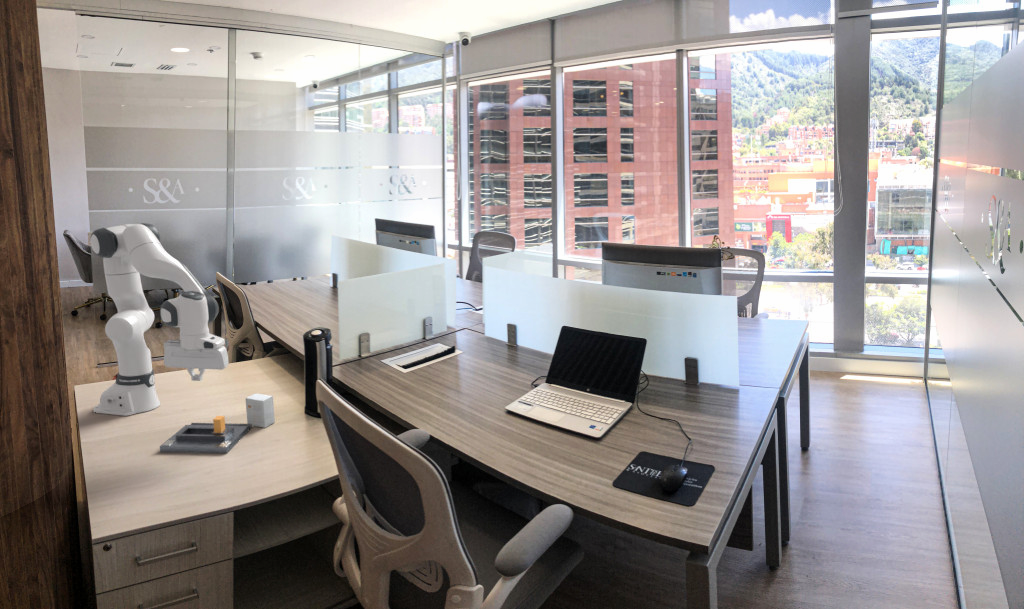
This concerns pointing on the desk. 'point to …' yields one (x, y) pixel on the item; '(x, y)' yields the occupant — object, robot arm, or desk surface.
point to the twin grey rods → (225, 424)
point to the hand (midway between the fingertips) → (197, 380)
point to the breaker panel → (203, 439)
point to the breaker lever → (219, 426)
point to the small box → (260, 410)
